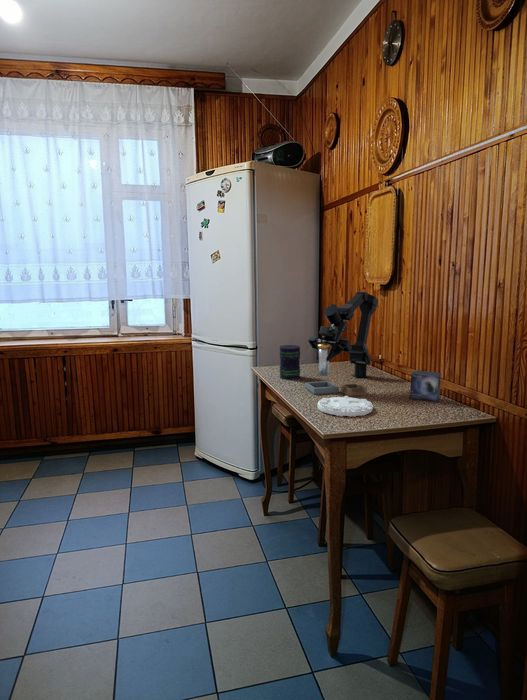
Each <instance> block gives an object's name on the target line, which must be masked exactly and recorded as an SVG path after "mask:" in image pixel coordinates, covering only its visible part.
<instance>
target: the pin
mask: <svg viewBox="0 0 527 700" xmlns="http://www.w3.org/2000/svg"><path fill="white" fill-rule="evenodd" d="M318 347H319V360H318V376H320V377H329V376H330V360H329V361H327V357H328V355H329V353H330V348H332V347H331V344H325V343H323V344H318Z"/></svg>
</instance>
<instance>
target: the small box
mask: <svg viewBox="0 0 527 700" xmlns="http://www.w3.org/2000/svg"><path fill="white" fill-rule="evenodd" d="M441 376H442V373H441V372H434V371H423V370H413V371H412V372H411V373H410V393H409V399H410V400H418V401H427V402H433V403H438V401H440V393H441V392H440V389H441Z"/></svg>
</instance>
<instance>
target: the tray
mask: <svg viewBox="0 0 527 700" xmlns="http://www.w3.org/2000/svg"><path fill="white" fill-rule="evenodd" d="M304 389H305V390H306V389H307V390H306V391H308V392H309V393H311V394H312V395H315V396H316V395H327V394H338V393H340V390H339V389H340V387H339V386H338V385H336V384H334V383H333V382H331V381H330V380H328V381H327V380H326V381H311V382H310V381H309V382H304Z"/></svg>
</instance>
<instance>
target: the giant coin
mask: <svg viewBox="0 0 527 700" xmlns="http://www.w3.org/2000/svg"><path fill="white" fill-rule="evenodd" d="M317 410H319V411H320V412H321V413H325V414H328V415H335V416H336V417H340V418H342V417H346V416H347V417H348V418H349V417H350V418H351V417H353V418H356V417H358V416H360V417H362V416H367V414H370V413H372V412H373V410H374V405H373V403H372V402H371V401H368V399H366V398H355V397H350V396H347V395H344V396H338V397H337V396H336V397H335V396H334V397H322V398H321V399H319V400H318V402H317Z"/></svg>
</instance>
